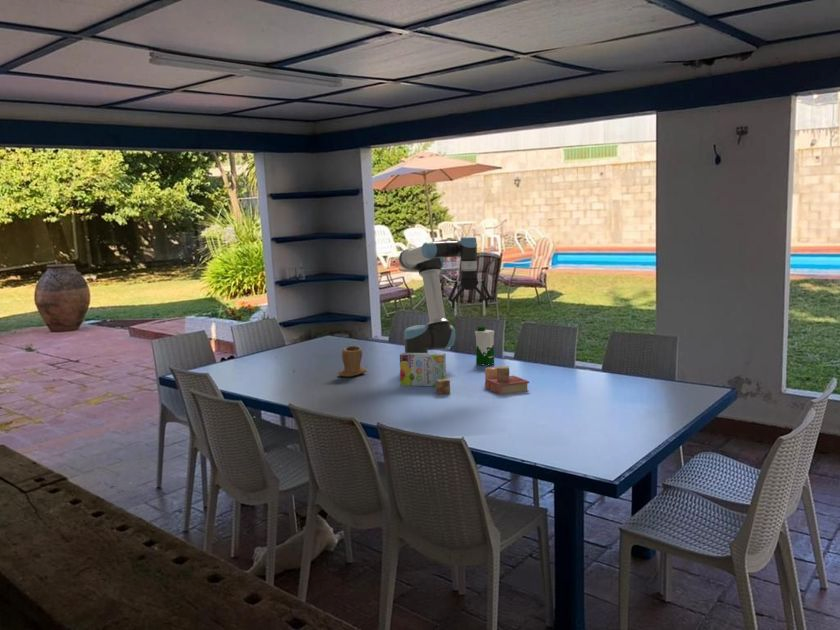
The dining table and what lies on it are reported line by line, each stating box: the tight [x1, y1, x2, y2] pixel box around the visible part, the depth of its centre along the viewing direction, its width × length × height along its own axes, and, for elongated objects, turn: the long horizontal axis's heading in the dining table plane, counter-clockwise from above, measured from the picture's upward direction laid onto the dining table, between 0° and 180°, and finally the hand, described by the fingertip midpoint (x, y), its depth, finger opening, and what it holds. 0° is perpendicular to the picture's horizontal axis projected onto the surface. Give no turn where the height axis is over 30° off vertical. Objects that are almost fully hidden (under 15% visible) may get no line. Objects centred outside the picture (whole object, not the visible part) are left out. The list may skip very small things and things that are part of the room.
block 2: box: [496, 365, 510, 382], centre depth 324 cm, size 5×5×6 cm
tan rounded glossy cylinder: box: [484, 366, 497, 380], centre depth 334 cm, size 7×7×8 cm
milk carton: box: [474, 325, 495, 366], centre depth 384 cm, size 9×9×20 cm
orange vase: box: [337, 345, 368, 378], centre depth 365 cm, size 15×12×15 cm
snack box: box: [399, 352, 447, 387], centre depth 339 cm, size 21×6×15 cm, turn 74°
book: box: [484, 375, 530, 396], centre depth 325 cm, size 14×15×5 cm
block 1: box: [435, 378, 451, 396], centre depth 322 cm, size 5×5×6 cm
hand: (469, 315), depth 341 cm, fingers open, 13 cm apart
